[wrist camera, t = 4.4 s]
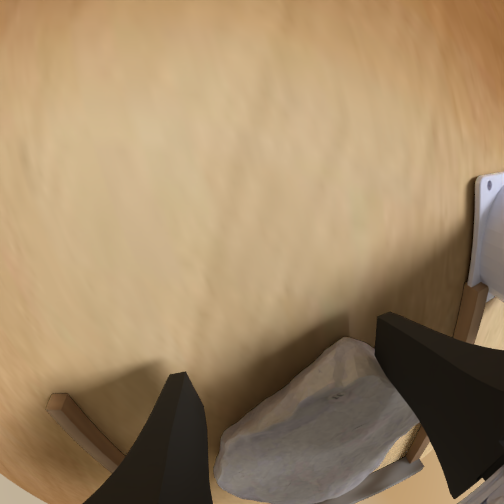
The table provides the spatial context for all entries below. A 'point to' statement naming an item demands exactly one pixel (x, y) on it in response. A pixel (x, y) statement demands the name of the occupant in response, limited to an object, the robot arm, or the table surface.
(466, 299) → the u-shaped frame
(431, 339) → the robot arm
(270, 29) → the table surface
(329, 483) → the stone block
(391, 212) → the table surface
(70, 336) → the table surface
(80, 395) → the table surface
